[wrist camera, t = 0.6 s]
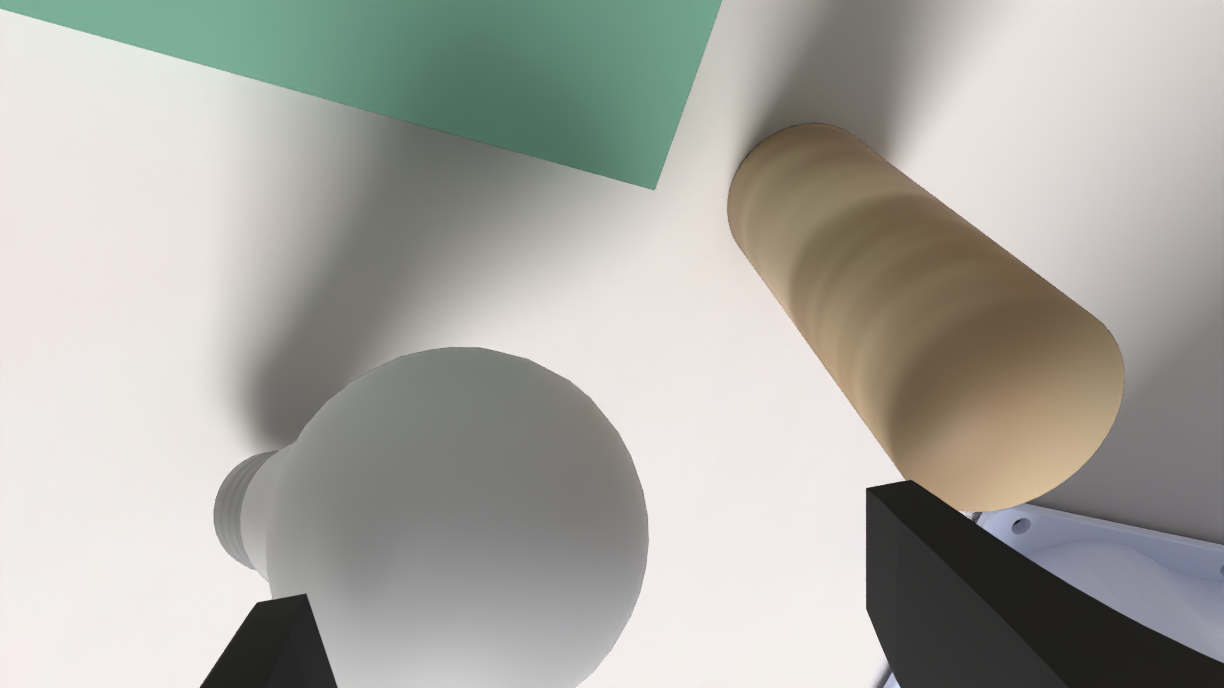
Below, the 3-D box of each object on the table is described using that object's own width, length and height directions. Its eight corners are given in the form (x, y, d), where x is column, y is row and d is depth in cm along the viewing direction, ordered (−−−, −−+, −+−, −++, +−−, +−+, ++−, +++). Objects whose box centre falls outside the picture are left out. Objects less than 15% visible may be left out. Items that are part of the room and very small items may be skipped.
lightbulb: (121, 357, 21) (410, 308, 13) (386, 381, 25) (730, 356, 17) (93, 665, 20) (381, 819, 12) (370, 637, 24) (722, 739, 16)
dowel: (904, 148, 22) (1169, 332, 14) (840, 288, 23) (1050, 529, 15) (761, 104, 21) (960, 273, 13) (704, 253, 22) (852, 489, 14)
